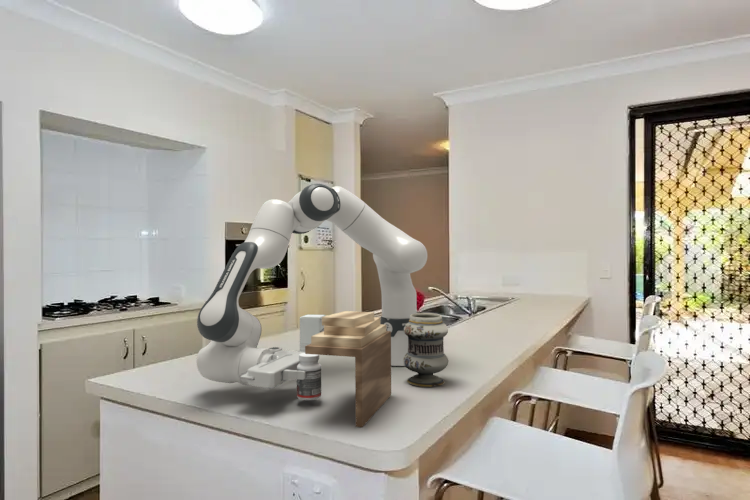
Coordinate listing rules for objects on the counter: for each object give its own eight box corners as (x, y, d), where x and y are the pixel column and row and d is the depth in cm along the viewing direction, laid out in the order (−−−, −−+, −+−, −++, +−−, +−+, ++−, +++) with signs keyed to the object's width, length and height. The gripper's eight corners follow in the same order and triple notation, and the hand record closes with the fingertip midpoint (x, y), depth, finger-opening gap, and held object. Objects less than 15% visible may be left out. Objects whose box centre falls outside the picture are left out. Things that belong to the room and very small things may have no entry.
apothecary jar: (421, 391, 120) (421, 319, 120) (394, 380, 130) (394, 314, 130) (458, 383, 127) (457, 315, 127) (429, 373, 137) (429, 310, 137)
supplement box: (319, 354, 163) (319, 317, 163) (299, 353, 164) (298, 316, 164) (326, 350, 170) (326, 314, 170) (306, 349, 172) (306, 313, 172)
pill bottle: (297, 393, 114) (297, 351, 114) (321, 393, 115) (321, 351, 115) (295, 401, 108) (295, 357, 108) (321, 400, 109) (321, 356, 109)
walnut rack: (305, 421, 100) (305, 346, 100) (343, 391, 121) (343, 329, 121) (362, 427, 96) (361, 349, 96) (391, 395, 117) (390, 331, 117)
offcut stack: (311, 344, 101) (311, 319, 101) (343, 330, 119) (343, 308, 119) (360, 347, 98) (360, 321, 98) (386, 332, 116) (386, 309, 116)
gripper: (234, 363, 105) (291, 368, 101) (279, 345, 125) (329, 348, 121) (234, 392, 105) (291, 398, 101) (279, 369, 125) (329, 374, 121)
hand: (312, 371), depth 111 cm, fingers closed on pill bottle, 6 cm apart
